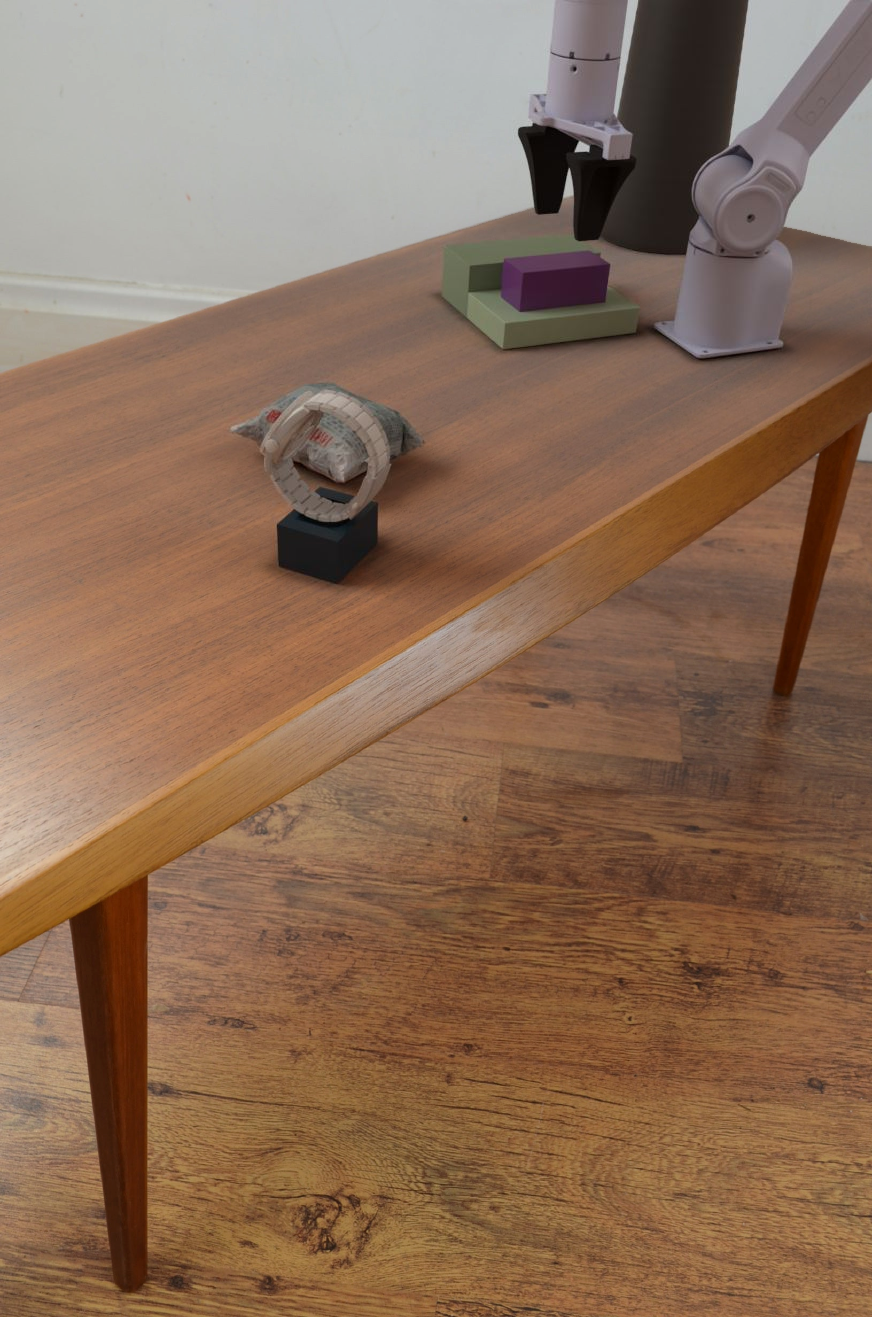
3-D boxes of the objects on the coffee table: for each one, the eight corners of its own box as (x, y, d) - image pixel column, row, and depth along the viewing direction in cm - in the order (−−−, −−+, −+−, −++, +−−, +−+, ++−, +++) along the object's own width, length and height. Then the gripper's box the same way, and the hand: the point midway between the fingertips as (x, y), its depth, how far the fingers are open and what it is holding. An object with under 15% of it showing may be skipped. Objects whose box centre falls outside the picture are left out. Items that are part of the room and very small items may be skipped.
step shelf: (566, 282, 118) (571, 233, 115) (636, 332, 108) (644, 280, 105) (441, 296, 114) (443, 244, 111) (502, 349, 104) (507, 295, 101)
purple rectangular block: (584, 287, 110) (589, 249, 108) (605, 302, 107) (610, 263, 105) (500, 296, 107) (503, 258, 105) (519, 312, 104) (523, 272, 102)
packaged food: (343, 510, 80) (344, 445, 77) (229, 453, 85) (225, 390, 83) (426, 469, 85) (429, 407, 82) (313, 418, 91) (312, 359, 88)
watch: (295, 520, 78) (290, 367, 72) (401, 550, 76) (406, 394, 69) (251, 559, 74) (241, 400, 68) (362, 592, 72) (363, 431, 65)
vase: (593, 246, 128) (632, -58, 111) (600, 211, 139) (636, -71, 121) (717, 259, 127) (776, -48, 109) (714, 222, 137) (767, -62, 120)
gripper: (502, 38, 97) (490, 204, 105) (584, 73, 86) (563, 255, 95) (576, 36, 99) (559, 199, 107) (664, 71, 89) (638, 248, 97)
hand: (566, 225), depth 101 cm, fingers open, 7 cm apart
